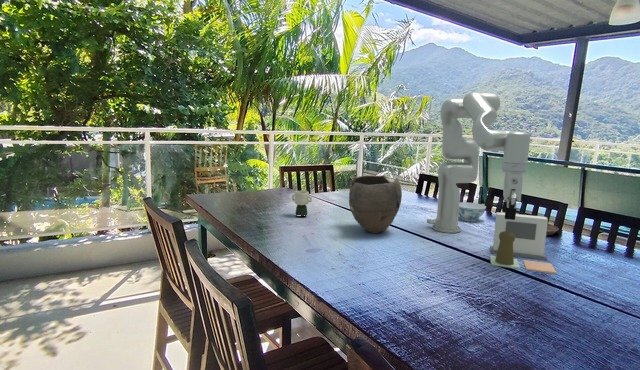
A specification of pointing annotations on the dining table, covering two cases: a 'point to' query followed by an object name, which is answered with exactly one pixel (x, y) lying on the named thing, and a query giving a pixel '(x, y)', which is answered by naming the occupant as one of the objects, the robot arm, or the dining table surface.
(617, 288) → the dining table surface
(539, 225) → the white display panel
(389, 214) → the clay pot
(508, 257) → the olive pepper shaker
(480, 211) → the chinaware
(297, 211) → the trophy cup
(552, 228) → the plant saucer
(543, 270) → the terracotta pad
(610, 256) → the dining table surface
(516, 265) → the sage pad
